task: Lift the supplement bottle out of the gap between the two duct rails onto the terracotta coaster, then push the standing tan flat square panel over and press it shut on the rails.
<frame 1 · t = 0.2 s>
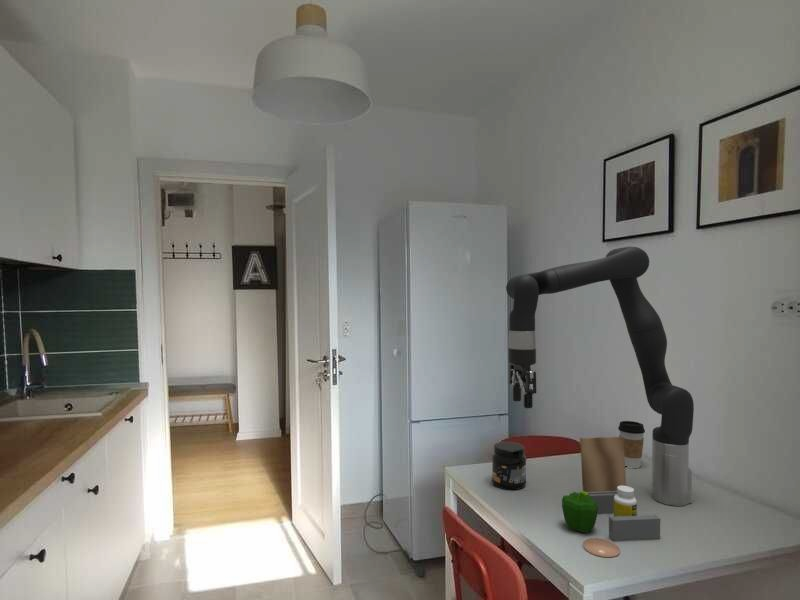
hand: (522, 404, 136), 29 cm above the table, tool pointing down, fingers open, 8 cm apart
supplement bottle: (624, 526, 125), on the table
coffee cup: (631, 466, 168), on the table
supplement container: (509, 484, 152), on the table
tan flat square panel: (603, 464, 134), point 13 cm above the table, hinge at 98.0°
coaster: (601, 548, 114), on the table
bell pepper: (579, 528, 124), on the table
duct rails: (619, 524, 126), on the table
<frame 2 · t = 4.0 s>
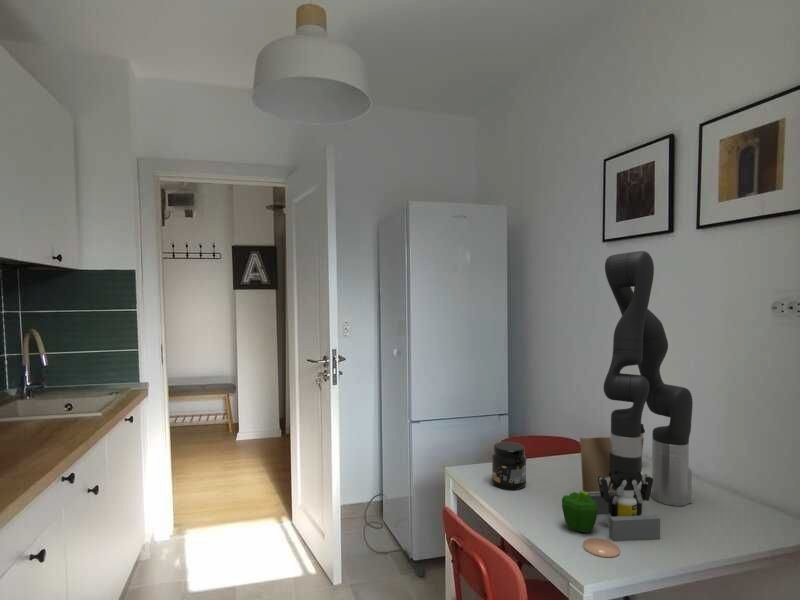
hand: (624, 516, 125), 3 cm above the table, tool pointing down, fingers closed on supplement bottle, 5 cm apart
supplement bottle: (624, 526, 125), on the table, touching gripper
everything else where it was.
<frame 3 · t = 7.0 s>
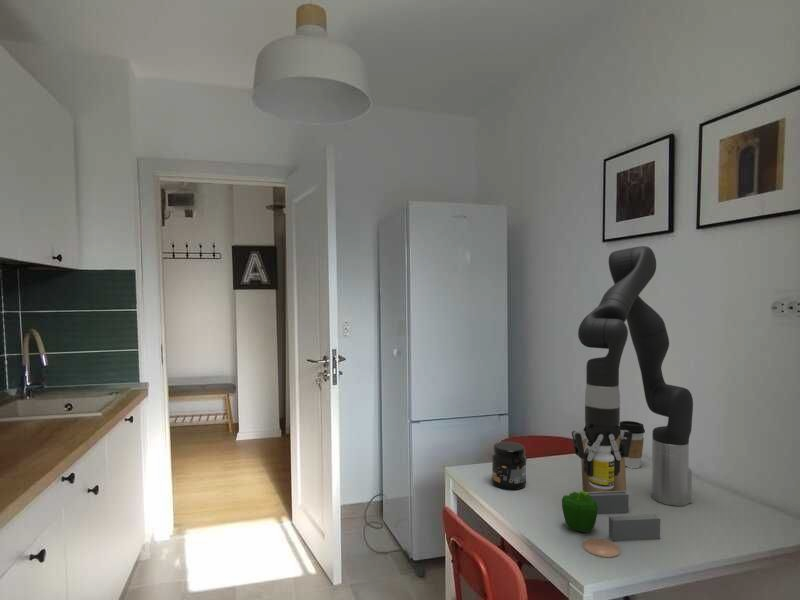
hand: (601, 474, 114), 17 cm above the table, tool pointing down, fingers closed on supplement bottle, 5 cm apart
supplement bottle: (601, 486, 114), point 15 cm above the table, touching gripper
everything else where it was.
when the fingers open (4 cm above the table, at t = 10.0 s): supplement bottle stays where it is, resting on coaster.
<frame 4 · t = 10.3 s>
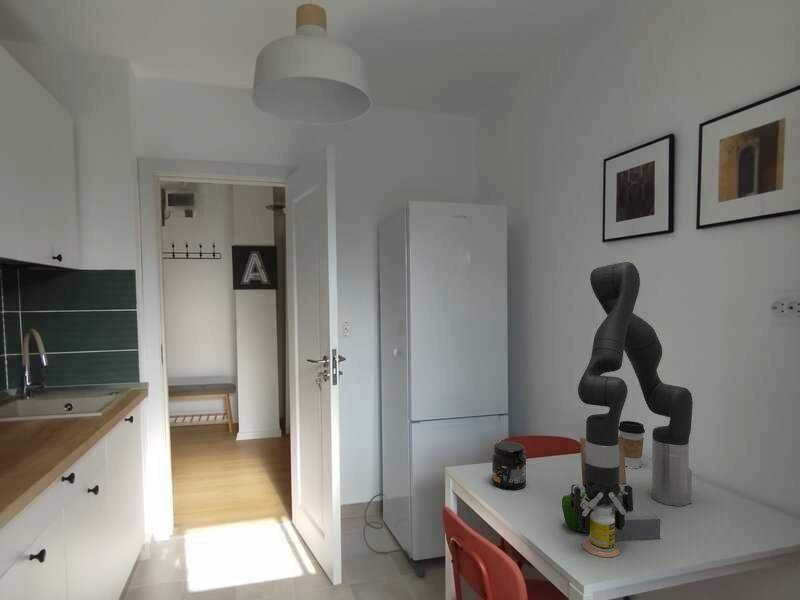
hand: (601, 529, 114), 5 cm above the table, tool pointing down, fingers open, 8 cm apart
supplement bottle: (602, 547, 114), resting on coaster
everything else where it was.
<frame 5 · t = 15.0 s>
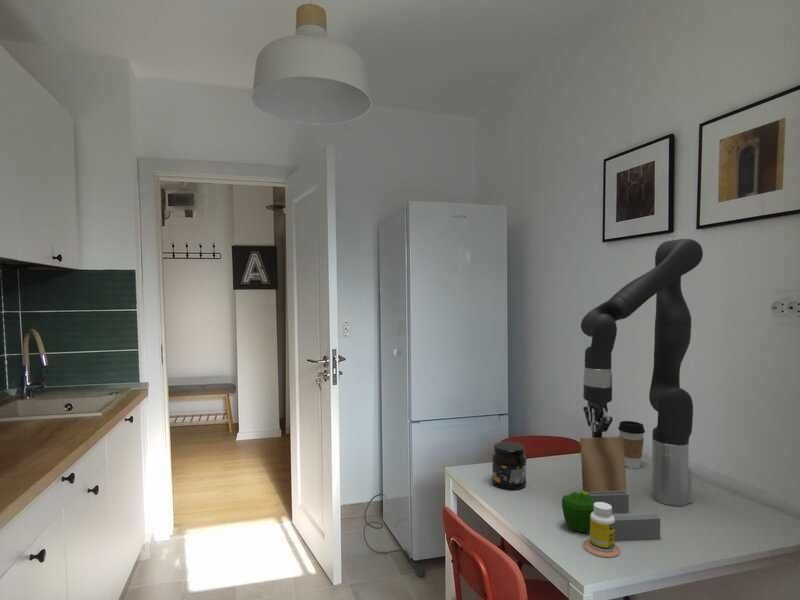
hand: (597, 444, 138), 17 cm above the table, tool pointing down, fingers closed
tan flat square panel: (603, 464, 134), point 13 cm above the table, hinge at 97.7°, touching gripper
everything else where it was.
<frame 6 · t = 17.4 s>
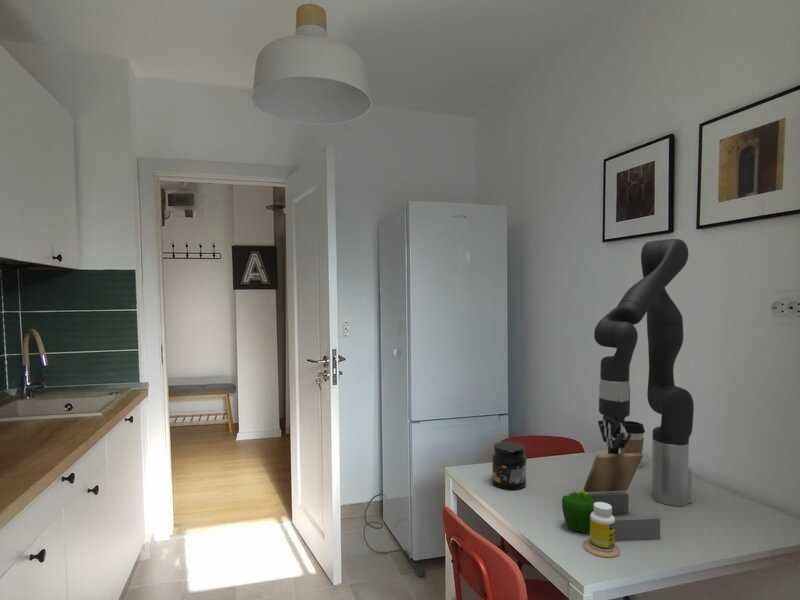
hand: (613, 461, 129), 15 cm above the table, tool pointing down, fingers closed
tan flat square panel: (612, 473, 129), point 12 cm above the table, hinge at 58.7°, touching gripper
everything else where it was.
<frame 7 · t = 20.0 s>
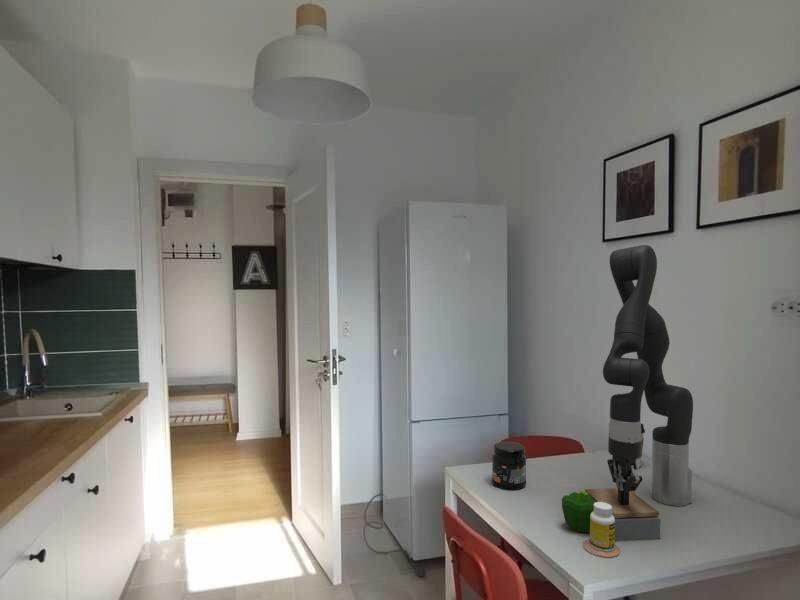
hand: (623, 503, 123), 6 cm above the table, tool pointing down, fingers closed
tan flat square panel: (619, 502, 126), point 6 cm above the table, hinge at -0.4°, touching gripper
everything else where it was.
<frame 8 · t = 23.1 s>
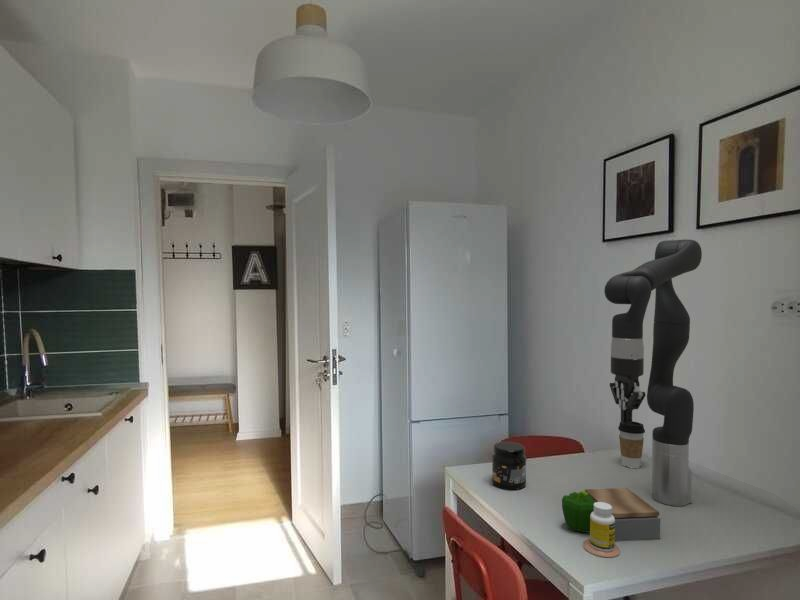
hand: (626, 424, 122), 27 cm above the table, tool pointing down, fingers closed
tan flat square panel: (619, 502, 126), point 6 cm above the table, hinge at -0.4°
everything else where it was.
at the end: tan flat square panel at +0° (first picture: +98°); supplement bottle 0.3 cm off-centre on the coaster, point 0.2 cm above the coaster's base; supplement bottle tilted 0° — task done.
